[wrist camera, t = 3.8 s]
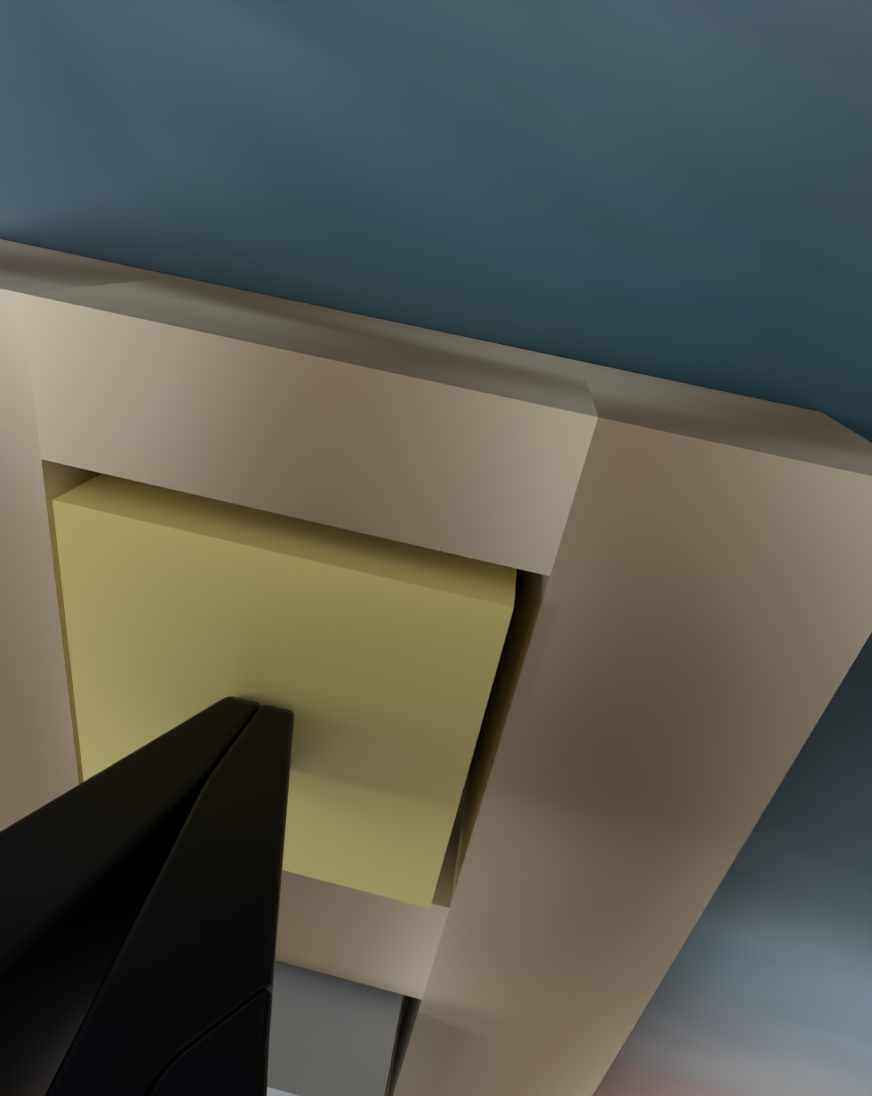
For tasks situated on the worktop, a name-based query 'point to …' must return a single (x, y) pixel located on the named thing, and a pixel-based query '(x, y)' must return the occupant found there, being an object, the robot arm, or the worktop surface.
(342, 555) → the yellow button
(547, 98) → the worktop surface
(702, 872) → the button board
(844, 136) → the worktop surface
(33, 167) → the worktop surface
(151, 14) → the worktop surface
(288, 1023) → the grey button
